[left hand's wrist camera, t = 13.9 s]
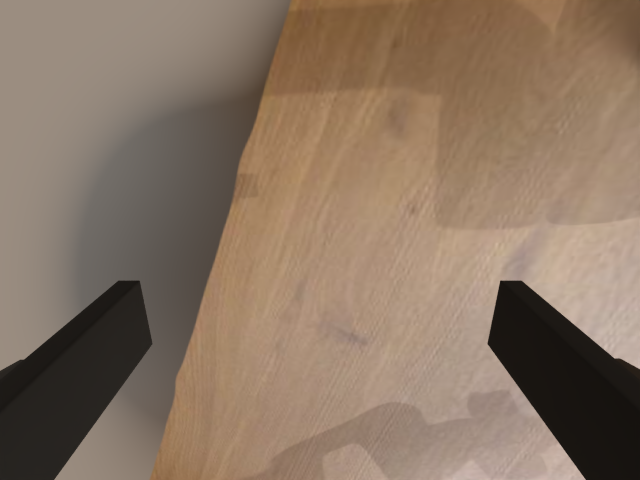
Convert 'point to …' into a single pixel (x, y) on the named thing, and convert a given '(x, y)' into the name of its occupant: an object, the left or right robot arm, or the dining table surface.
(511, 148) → the dining table surface
